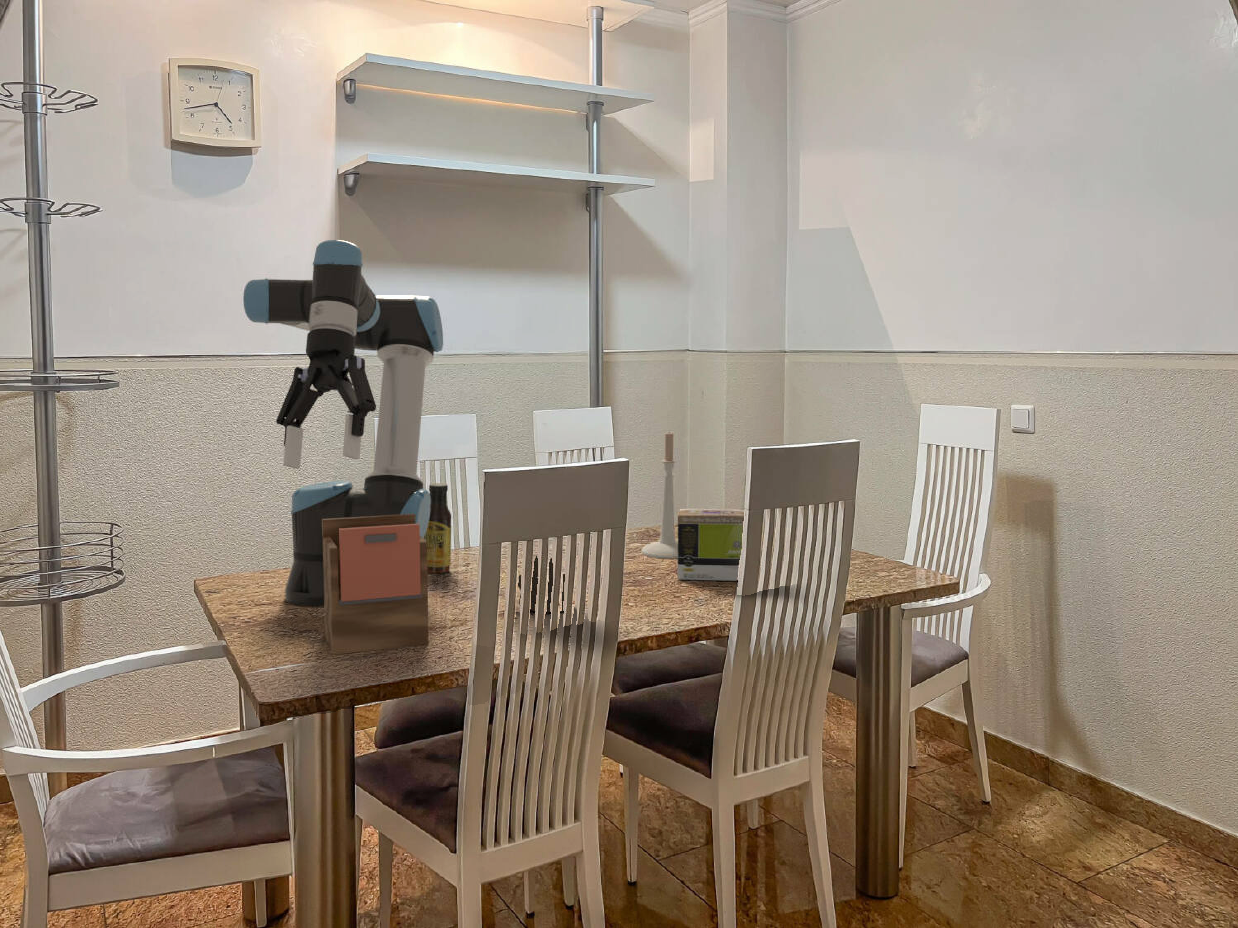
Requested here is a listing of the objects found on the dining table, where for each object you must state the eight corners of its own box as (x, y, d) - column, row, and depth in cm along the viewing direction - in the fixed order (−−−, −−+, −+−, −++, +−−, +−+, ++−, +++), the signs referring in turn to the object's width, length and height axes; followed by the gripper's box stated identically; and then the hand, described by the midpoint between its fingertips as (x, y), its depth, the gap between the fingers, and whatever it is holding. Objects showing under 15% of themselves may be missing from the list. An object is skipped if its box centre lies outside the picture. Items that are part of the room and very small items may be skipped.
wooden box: (325, 636, 179) (321, 519, 176) (415, 626, 185) (413, 513, 182) (332, 654, 169) (329, 530, 166) (428, 644, 175) (426, 524, 172)
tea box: (744, 572, 230) (746, 507, 228) (745, 582, 220) (747, 515, 218) (678, 569, 232) (679, 506, 230) (676, 580, 222) (677, 514, 220)
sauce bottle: (417, 573, 226) (416, 485, 223) (431, 567, 231) (430, 481, 229) (443, 576, 223) (442, 487, 221) (457, 569, 229) (456, 483, 227)
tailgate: (339, 604, 168) (337, 528, 166) (421, 597, 173) (419, 523, 171) (340, 607, 166) (338, 530, 165) (423, 599, 172) (421, 525, 170)
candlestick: (704, 553, 249) (706, 431, 245) (668, 561, 240) (670, 435, 236) (666, 545, 258) (668, 427, 254) (630, 552, 249) (631, 431, 245)
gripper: (262, 340, 167) (249, 466, 162) (369, 312, 154) (358, 447, 149) (298, 354, 173) (286, 475, 168) (404, 327, 160) (395, 458, 155)
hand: (320, 462), depth 159 cm, fingers open, 13 cm apart
